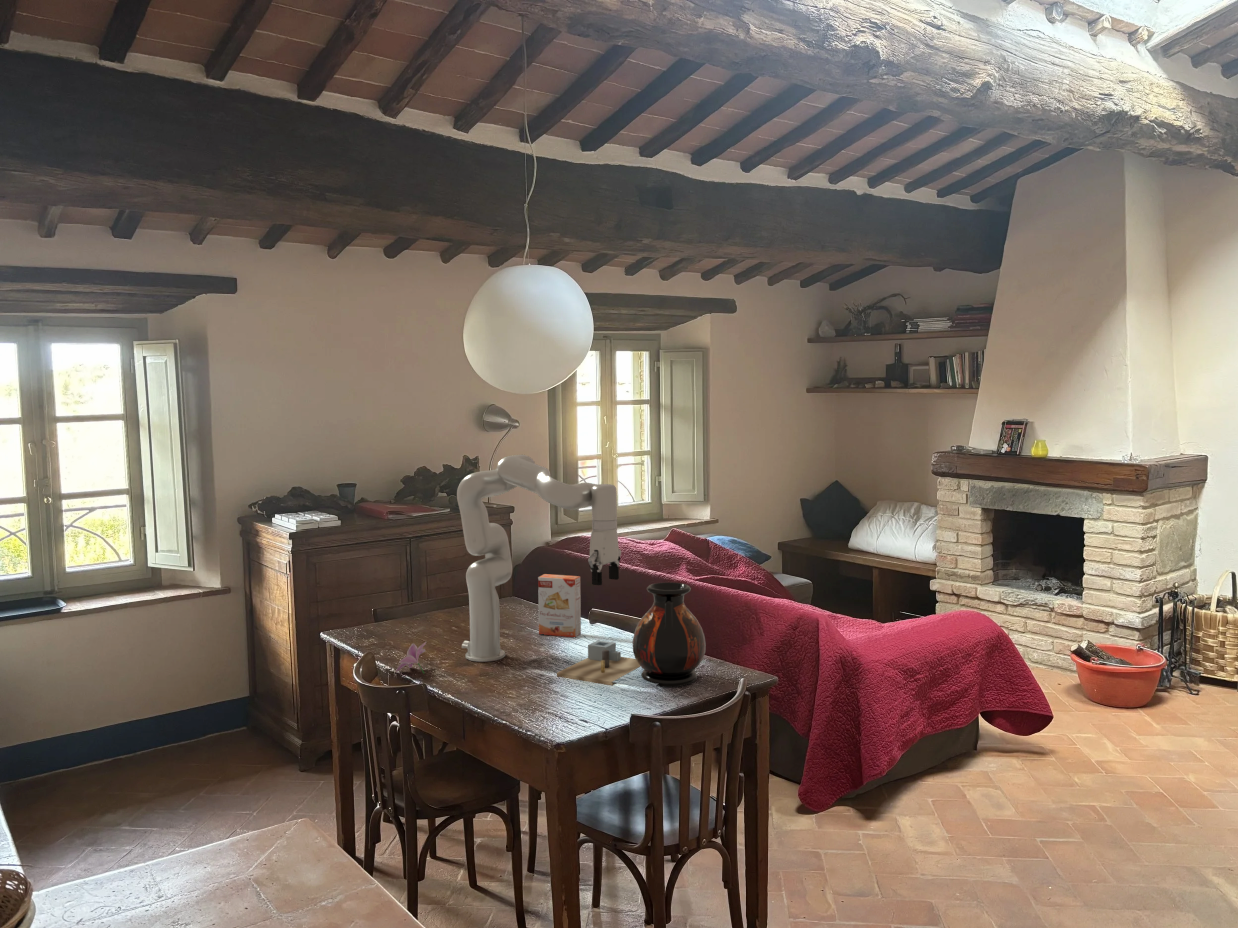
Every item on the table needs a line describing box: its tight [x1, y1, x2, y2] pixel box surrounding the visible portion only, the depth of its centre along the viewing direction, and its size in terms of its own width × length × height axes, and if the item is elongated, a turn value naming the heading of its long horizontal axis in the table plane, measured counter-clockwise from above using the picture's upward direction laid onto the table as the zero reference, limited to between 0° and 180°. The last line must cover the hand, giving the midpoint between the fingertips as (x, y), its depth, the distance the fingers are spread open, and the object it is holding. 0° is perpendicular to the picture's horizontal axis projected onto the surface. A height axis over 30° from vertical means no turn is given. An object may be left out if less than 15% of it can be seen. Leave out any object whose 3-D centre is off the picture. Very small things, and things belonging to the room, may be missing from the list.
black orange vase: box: [632, 582, 707, 688], centre depth 273 cm, size 22×22×28 cm
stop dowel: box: [601, 660, 605, 673], centre depth 278 cm, size 1×1×4 cm
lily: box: [394, 641, 427, 674], centre depth 283 cm, size 12×12×10 cm
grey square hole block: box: [587, 639, 622, 661], centre depth 292 cm, size 9×6×4 cm
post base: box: [556, 650, 641, 687], centre depth 284 cm, size 19×24×6 cm
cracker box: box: [537, 573, 582, 638], centre depth 326 cm, size 14×6×21 cm, turn 72°
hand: (605, 581), depth 279 cm, fingers open, 9 cm apart
